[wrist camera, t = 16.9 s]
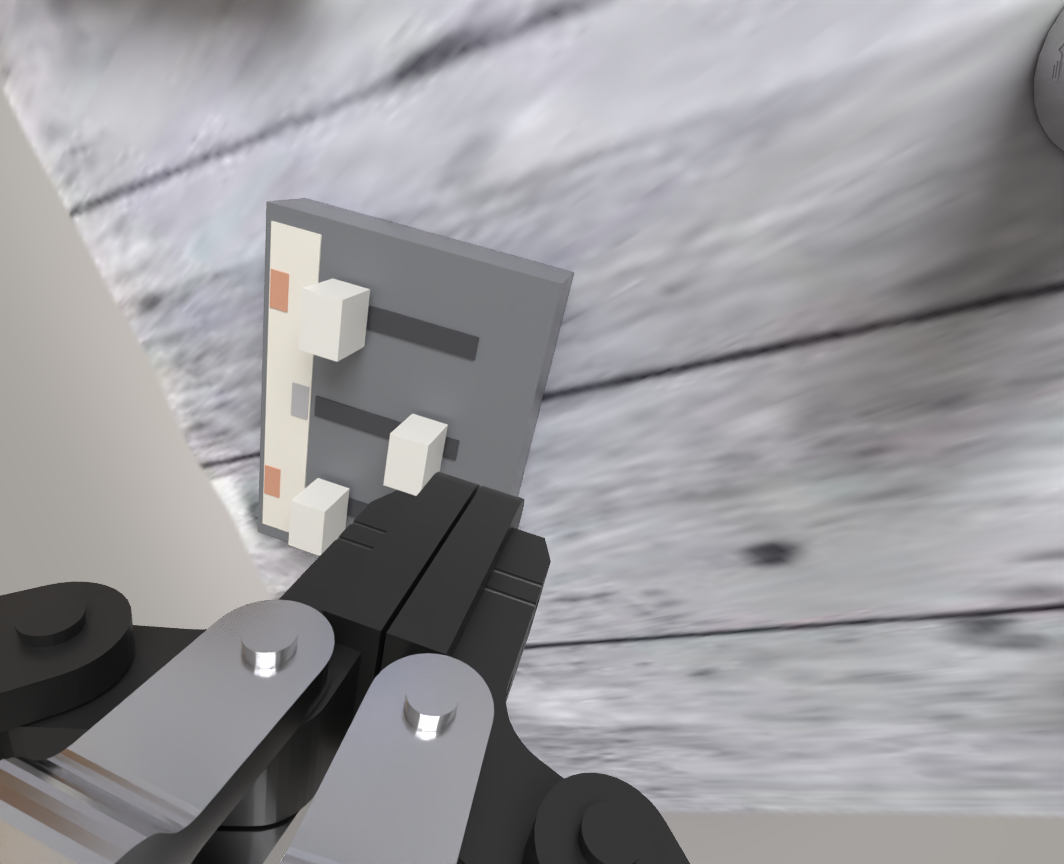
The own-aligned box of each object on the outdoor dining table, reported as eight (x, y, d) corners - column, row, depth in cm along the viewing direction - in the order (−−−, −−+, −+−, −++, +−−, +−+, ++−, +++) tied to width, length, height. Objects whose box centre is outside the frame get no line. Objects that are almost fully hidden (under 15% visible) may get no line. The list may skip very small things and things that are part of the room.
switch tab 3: (448, 424, 38) (428, 445, 35) (439, 473, 39) (420, 497, 37) (412, 413, 38) (390, 433, 35) (405, 462, 40) (383, 485, 37)
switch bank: (574, 272, 37) (561, 284, 33) (497, 576, 47) (481, 611, 44) (305, 198, 39) (264, 201, 35) (289, 505, 49) (256, 532, 46)
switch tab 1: (370, 289, 36) (342, 300, 33) (364, 346, 37) (337, 361, 34) (332, 278, 36) (302, 288, 33) (328, 335, 37) (298, 350, 35)
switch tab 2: (349, 488, 42) (324, 512, 39) (345, 530, 43) (320, 556, 40) (317, 477, 42) (290, 500, 39) (314, 519, 44) (288, 544, 41)
